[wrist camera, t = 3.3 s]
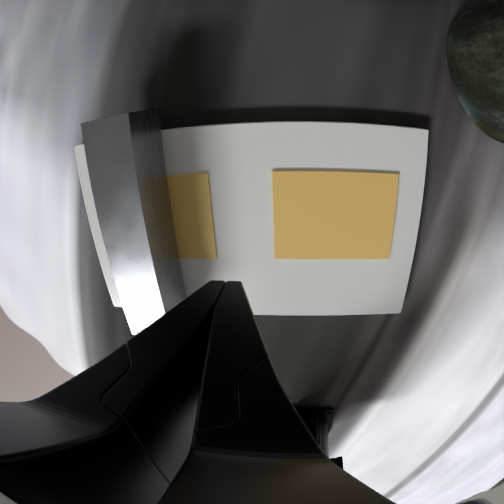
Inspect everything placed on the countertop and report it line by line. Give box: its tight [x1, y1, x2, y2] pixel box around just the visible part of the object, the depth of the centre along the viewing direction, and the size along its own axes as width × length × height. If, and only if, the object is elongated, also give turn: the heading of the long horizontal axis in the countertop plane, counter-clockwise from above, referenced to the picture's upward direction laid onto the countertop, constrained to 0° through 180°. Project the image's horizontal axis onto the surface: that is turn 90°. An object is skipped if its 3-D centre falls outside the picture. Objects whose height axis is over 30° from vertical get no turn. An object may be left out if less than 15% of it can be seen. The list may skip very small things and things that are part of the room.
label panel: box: [74, 121, 428, 315], centre depth 21 cm, size 15×24×2 cm, turn 93°
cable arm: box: [81, 108, 187, 338], centre depth 19 cm, size 17×4×4 cm, turn 3°
